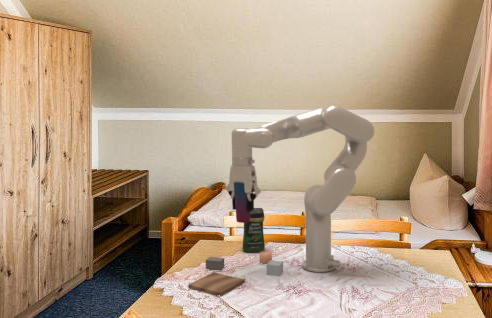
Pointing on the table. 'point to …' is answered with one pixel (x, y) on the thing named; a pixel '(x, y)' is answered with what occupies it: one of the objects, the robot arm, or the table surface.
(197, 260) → the table surface
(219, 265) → the taupe block
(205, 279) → the walnut board
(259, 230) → the coffee jar
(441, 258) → the table surface
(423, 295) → the table surface
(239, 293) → the table surface
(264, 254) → the terracotta ball
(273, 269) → the slate block
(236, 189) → the cup
